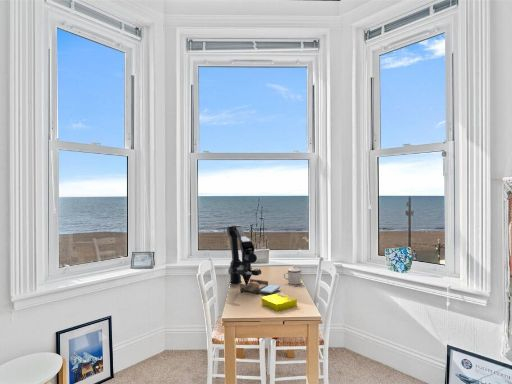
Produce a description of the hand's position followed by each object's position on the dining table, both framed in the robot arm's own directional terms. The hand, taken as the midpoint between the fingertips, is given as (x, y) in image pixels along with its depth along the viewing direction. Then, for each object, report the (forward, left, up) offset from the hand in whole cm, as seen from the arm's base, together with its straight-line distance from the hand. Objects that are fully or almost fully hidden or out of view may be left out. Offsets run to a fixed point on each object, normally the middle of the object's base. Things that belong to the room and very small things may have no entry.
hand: (246, 284), depth 206 cm
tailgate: (+11, +4, -2) cm, 12 cm away
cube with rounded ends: (+5, 0, -1) cm, 5 cm away
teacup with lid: (+20, +29, -4) cm, 35 cm away
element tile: (+29, -16, -4) cm, 34 cm away
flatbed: (+4, +4, -4) cm, 6 cm away
